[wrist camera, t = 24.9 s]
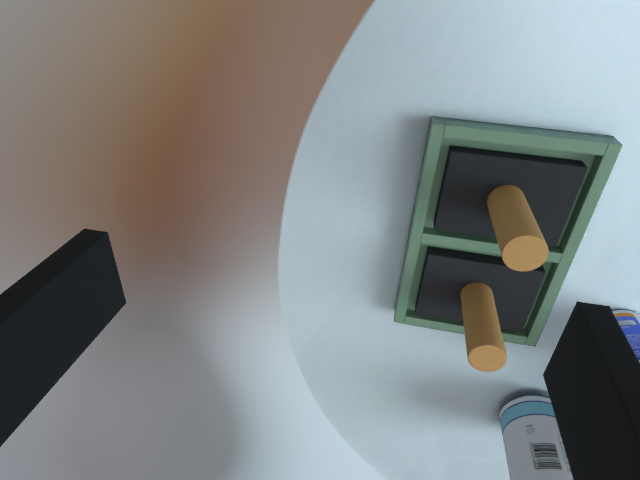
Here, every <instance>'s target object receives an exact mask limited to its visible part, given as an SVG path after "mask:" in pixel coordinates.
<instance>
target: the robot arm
mask: <svg viewBox="0 0 640 480" xmlns="http://www.w3.org/2000/svg"><path fill="white" fill-rule="evenodd" d="M125 304H126V300H125V296H124V293H123V289H122V285H121V281H120V277H119V274H118V270H117V266H116V262H115V258H114V255H113V251H112V247H111V243H110V240H109V236H108V233H107V232H103V231H96V230H90V229H83V230H82V231H81V232H80V233H78V234H77V235H76V236H74V237H73V238H72V239H71V240H69V241H68V242H67V243H66V244H64V245H63V246H62V247H61V248H59V249H58V250H57V251H55V252H54V253H53V254H52V255H50V256H49V257H48V258H46V259H45V260H44V261H43V262H41V263H40V264H39V265H38V266H36V267H35V268H34V269H32V270H31V271H30V272H29V273H27V274H26V275H25V276H23V277H22V278H21V279H20V280H18V281H17V282H16V283H15V284H13V285H12V286H11V287H9V288H8V289H7V290H6V291H4V292H3V293H2V294H1V295H0V447H1V445H2V444H3V443H4V442H5V441H6V440H7V439H8V437H9V436H10V435H11V434H12V433H13V432H14V431H15V429H16V428H17V427H18V426H19V425H20V424H21V423H22V421H23V420H24V419H25V418H26V417H27V416H28V414H29V413H30V412H31V411H32V410H33V409H34V408H35V407H36V405H37V404H38V403H39V402H40V401H41V400H42V399H43V397H44V396H45V395H46V394H47V393H48V392H49V390H50V389H51V388H52V387H53V386H54V385H55V384H56V383H57V381H58V380H59V379H60V378H61V377H62V376H63V374H64V373H65V372H66V371H67V370H68V369H69V368H70V366H71V365H72V364H73V363H74V362H75V361H76V360H77V358H78V357H79V356H80V355H81V354H82V353H83V352H84V350H85V349H86V348H87V347H88V346H89V345H90V344H91V342H92V341H93V340H94V339H95V338H96V337H97V336H98V334H99V333H100V332H101V331H102V330H103V329H104V328H105V326H106V325H107V324H108V323H109V322H110V321H111V320H112V318H113V317H114V316H115V315H116V314H117V313H118V312H119V310H120V309H121V308H122V307H123V306H124V305H125ZM543 376H544V379H545V383H546V386H547V390H548V393H549V397H550V400H551V404H552V407H553V411H554V414H555V417H556V421H557V424H558V428H559V431H560V435H561V438H562V442H563V445H564V449H565V452H566V456H567V459H568V463H569V466H570V469H571V473H572V476H573V480H640V362H639V360H638V358H637V357H636V355H635V353H634V351H633V349H632V347H631V345H630V344H629V342H628V340H627V338H626V336H625V334H624V332H623V331H622V329H621V327H620V325H619V323H618V321H617V319H616V318H615V316H614V314H613V312H612V310H611V308H610V306H603V305H596V304H589V303H583V302H577V303H576V305H575V307H574V309H573V312H572V314H571V316H570V318H569V320H568V322H567V325H566V327H565V329H564V331H563V333H562V335H561V338H560V340H559V342H558V344H557V346H556V348H555V350H554V353H553V355H552V357H551V359H550V361H549V363H548V366H547V368H546V370H545V372H544V374H543Z"/></svg>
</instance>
